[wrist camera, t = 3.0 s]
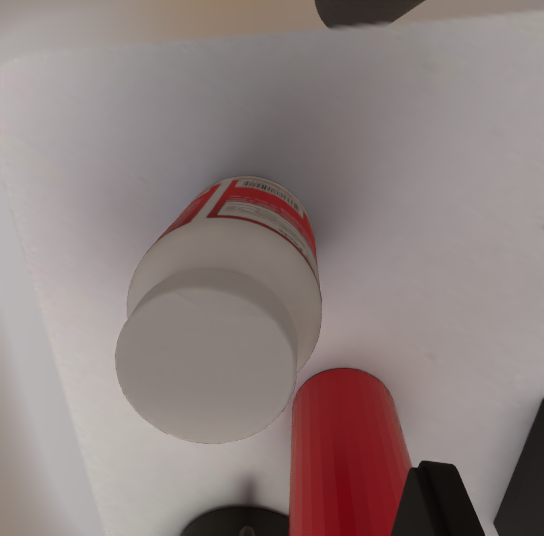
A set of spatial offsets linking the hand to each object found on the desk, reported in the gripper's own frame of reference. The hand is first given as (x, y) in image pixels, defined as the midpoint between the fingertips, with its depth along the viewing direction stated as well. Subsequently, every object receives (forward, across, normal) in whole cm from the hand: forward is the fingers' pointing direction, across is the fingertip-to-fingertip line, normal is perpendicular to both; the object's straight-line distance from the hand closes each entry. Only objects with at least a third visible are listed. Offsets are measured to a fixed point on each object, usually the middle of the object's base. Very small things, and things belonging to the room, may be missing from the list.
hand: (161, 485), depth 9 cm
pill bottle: (+14, 0, -1) cm, 15 cm away
